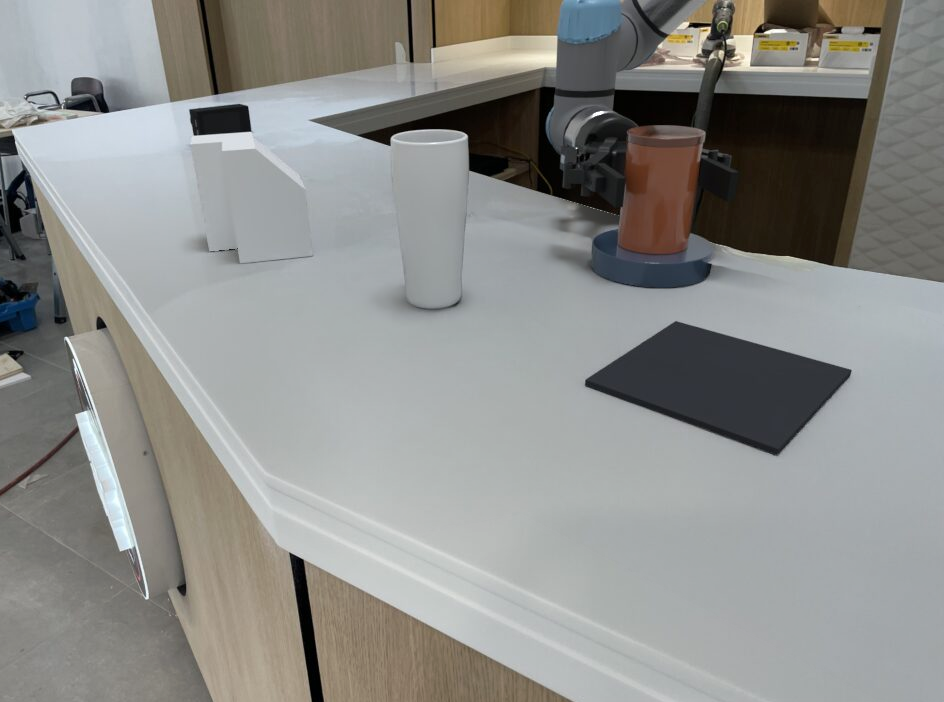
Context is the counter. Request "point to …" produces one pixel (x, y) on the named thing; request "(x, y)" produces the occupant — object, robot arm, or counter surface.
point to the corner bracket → (250, 199)
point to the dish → (651, 263)
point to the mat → (723, 384)
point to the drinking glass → (431, 212)
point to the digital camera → (220, 120)
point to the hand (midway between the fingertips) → (676, 189)
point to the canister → (659, 188)
